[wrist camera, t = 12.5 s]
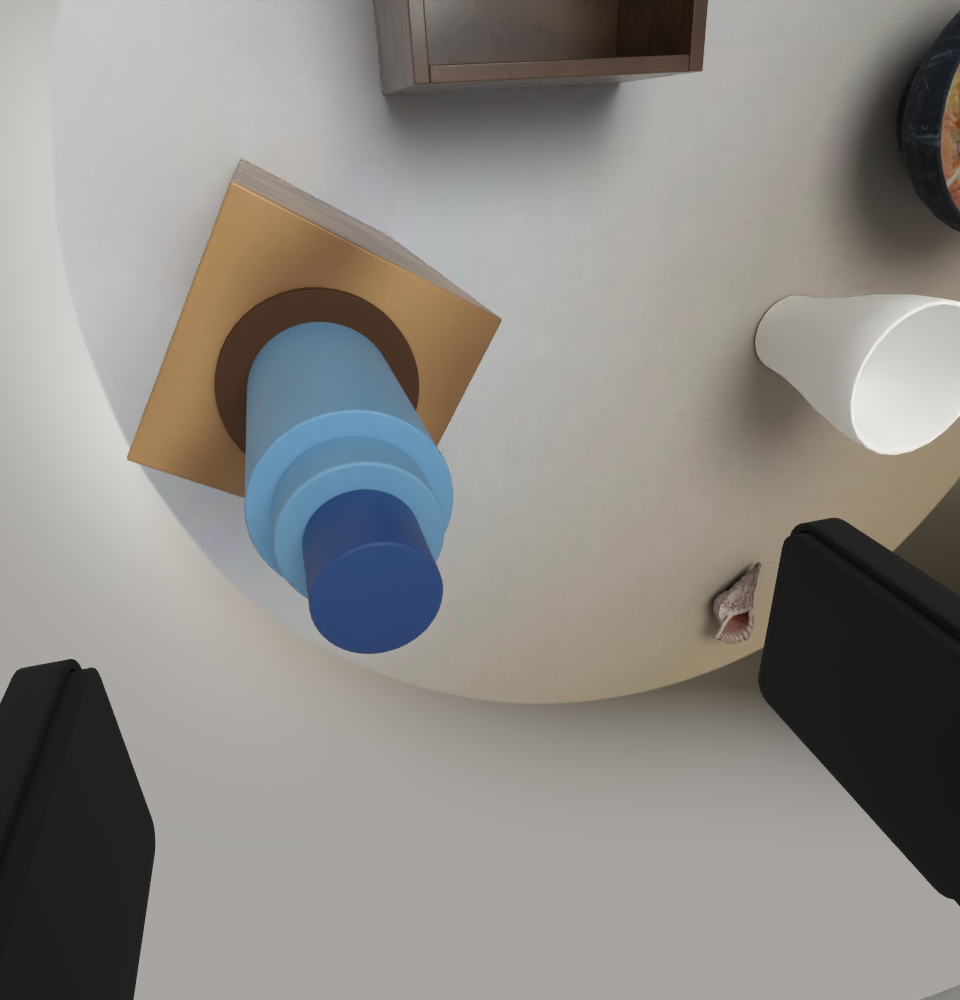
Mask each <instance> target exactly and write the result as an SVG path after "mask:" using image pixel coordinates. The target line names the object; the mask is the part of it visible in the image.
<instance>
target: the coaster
mask: <svg viewBox="0 0 960 1000" xmlns="http://www.w3.org/2000/svg"><path fill="white" fill-rule="evenodd" d="M310 322H329V323H335V324H339V325H343V326H346V327H348V328H351V329H353V330H355V331H357V332H359V333H361V334H362V335H363V336H365V337H366V338H367V339H369V340H370V341H371V342H372V343H373V344H374V345H375V346H376V347H377V348H378V350H379V351H380V352H381V354H382V355H383V357H384V358H385V360H386V362H387V363H388V365H389V367H390V368H391V370H392V372H393V374H394V375H395V377H396V379H397V380H398V382H399V384H400V385H401V387H402V389H403V390H404V392H405V394H406V395H407V397H408V399H409V400H410V402H411V404H412V406H413V407H414V409H415V411H416V409H417V406H418V399H419V375H418V368H417V365H416V361H415V357H414V355H413V352H412V350H411V348H410V345H409V344H408V342H407V340H406V339H405V337H404V335H403V334H402V332H401V331H400V330H399V328H398V327H397V326H396V325H395V323H394V322H393V321H392V320H391V319H390V318H389V317H388V316H387V315H386V314H385V313H384V312H383V311H381V310H380V309H379V308H377V307H376V306H375V305H373V304H372V303H370V302H368V301H366V300H365V299H363V298H361V297H359V296H356V295H354V294H351V293H349V292H345V291H341V290H337V289H331V288H323V287H306V288H299V289H292V290H289V291H285V292H282V293H279V294H276V295H274V296H272V297H269V298H267V299H265V300H264V301H262V302H260V303H259V304H257V305H255V306H254V307H253V308H252V309H250V310H249V311H248V312H247V313H246V314H244V315H243V316H242V317H241V319H240V320H239V321H238V322H237V323H236V324H235V325H234V327H233V328H232V330H231V331H230V333H229V334H228V336H227V337H226V339H225V342H224V344H223V346H222V348H221V351H220V354H219V357H218V360H217V366H216V372H215V398H216V404H217V408H218V411H219V415H220V418H221V420H222V422H223V425H224V427H225V429H226V430H227V432H228V434H229V435H230V437H231V439H232V440H233V441H234V442H235V444H236V445H237V446H238V447H239V449H240V450H241V451H242V452H243V453H244V454H246V411H247V382H248V376H249V372H250V369H251V366H252V364H253V362H254V360H255V358H256V356H257V355H258V353H259V352H260V350H261V349H262V348H263V347H264V346H265V345H266V344H267V343H268V342H269V341H270V340H271V339H272V338H273V337H275V336H276V335H278V334H279V333H281V332H282V331H284V330H286V329H289V328H291V327H293V326H296V325H300V324H304V323H310Z"/></svg>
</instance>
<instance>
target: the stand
mask: <svg viewBox="0 0 960 1000" xmlns="http://www.w3.org/2000/svg"><path fill="white" fill-rule="evenodd" d="M306 287H323V288H331V289H337V290H341V291H345V292H349V293H351V294H354V295H356V296H359V297H361V298H363V299H365V300H366V301H368V302H370V303H372V304H373V305H375V306H376V307H377V308H379V309H380V310H381V311H383V312H384V313H385V314H386V315H387V316H388V317H389V318H390V319H391V320H392V321H393V322H394V323H395V325H396V326H397V327H398V328H399V330H400V331H401V332H402V334H403V335H404V337H405V339H406V340H407V342H408V344H409V345H410V348H411V350H412V352H413V355H414V357H415V361H416V365H417V368H418V375H419V399H418V406H417V409H416V412H417V414H418V416H419V417H420V419H421V421H422V422H423V424H424V426H425V427H426V429H427V431H428V432H429V434H430V436H431V438H432V439H433V441H434V443H435V444H436V446H437V445H438V443H439V441H440V439H441V437H442V435H443V433H444V431H445V430H446V428H447V426H448V424H449V422H450V420H451V418H452V416H453V414H454V412H455V410H456V408H457V406H458V404H459V402H460V400H461V398H462V397H463V395H464V393H465V391H466V389H467V387H468V385H469V383H470V381H471V379H472V377H473V375H474V373H475V371H476V369H477V367H478V365H479V364H480V362H481V360H482V358H483V356H484V354H485V352H486V350H487V348H488V346H489V344H490V342H491V340H492V338H493V336H494V334H495V332H496V330H497V329H498V327H499V325H500V323H501V318H500V317H498V316H497V315H496V314H494V313H493V312H491V311H490V310H489V309H487V308H486V307H485V306H483V305H482V304H481V303H479V302H478V301H477V300H475V299H474V298H472V297H471V296H470V295H468V294H467V293H466V292H464V291H463V290H462V289H460V288H459V287H458V286H456V285H455V284H453V283H452V282H451V281H449V280H448V279H447V278H445V277H444V276H443V275H441V274H440V273H438V272H437V271H436V270H434V269H433V268H432V267H430V266H429V265H428V264H426V263H425V262H424V261H422V260H421V259H419V258H418V257H417V256H415V255H414V254H413V253H411V252H410V251H409V250H407V249H406V248H405V247H403V246H402V245H400V244H399V243H398V242H396V241H395V240H394V239H392V238H391V237H389V236H387V235H385V234H383V233H381V232H379V231H377V230H376V229H374V228H372V227H370V226H368V225H366V224H364V223H362V222H360V221H359V220H357V219H355V218H353V217H351V216H349V215H347V214H345V213H344V212H342V211H340V210H338V209H336V208H334V207H332V206H330V205H328V204H327V203H325V202H323V201H321V200H319V199H317V198H315V197H313V196H311V195H310V194H308V193H306V192H304V191H302V190H300V189H298V188H296V187H295V186H293V185H291V184H289V183H287V182H285V181H283V180H281V179H279V178H278V177H276V176H274V175H272V174H270V173H268V172H266V171H264V170H262V169H261V168H259V167H257V166H255V165H253V164H251V163H249V162H247V161H245V160H244V159H241V160H240V162H239V165H238V167H237V169H236V171H235V173H234V175H233V177H232V179H231V181H230V184H229V186H228V189H227V192H226V195H225V197H224V200H223V203H222V205H221V208H220V211H219V213H218V216H217V219H216V221H215V224H214V227H213V229H212V232H211V235H210V237H209V240H208V243H207V245H206V248H205V251H204V253H203V256H202V259H201V261H200V264H199V267H198V269H197V272H196V275H195V277H194V280H193V283H192V285H191V288H190V291H189V293H188V296H187V299H186V301H185V304H184V307H183V309H182V312H181V315H180V317H179V320H178V323H177V325H176V328H175V331H174V333H173V336H172V339H171V341H170V344H169V347H168V349H167V352H166V355H165V357H164V360H163V363H162V365H161V368H160V371H159V373H158V376H157V379H156V381H155V384H154V387H153V389H152V392H151V395H150V397H149V400H148V403H147V405H146V408H145V411H144V413H143V416H142V419H141V421H140V424H139V427H138V429H137V432H136V435H135V437H134V440H133V443H132V445H131V448H130V451H129V453H128V456H127V459H128V460H129V461H132V462H135V463H138V464H142V465H145V466H148V467H151V468H154V469H157V470H160V471H163V472H166V473H169V474H172V475H175V476H179V477H182V478H185V479H188V480H191V481H194V482H197V483H200V484H203V485H206V486H209V487H213V488H216V489H219V490H222V491H225V492H228V493H231V494H234V495H237V496H240V497H243V498H245V459H246V454H244V453H243V452H242V451H241V450H240V449H239V447H238V446H237V445H236V444H235V442H234V441H233V440H232V439H231V437H230V435H229V434H228V432H227V430H226V429H225V427H224V425H223V422H222V420H221V418H220V415H219V411H218V408H217V404H216V398H215V372H216V366H217V360H218V357H219V354H220V351H221V348H222V346H223V344H224V342H225V339H226V337H227V336H228V334H229V333H230V331H231V330H232V328H233V327H234V325H235V324H236V323H237V322H238V321H239V320H240V319H241V317H242V316H243V315H244V314H246V313H247V312H248V311H249V310H250V309H252V308H253V307H254V306H255V305H257V304H259V303H260V302H262V301H264V300H265V299H267V298H269V297H272V296H274V295H276V294H279V293H282V292H285V291H289V290H292V289H299V288H306Z"/></svg>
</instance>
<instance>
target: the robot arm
mask: <svg viewBox="0 0 960 1000" xmlns="http://www.w3.org/2000/svg"><path fill="white" fill-rule="evenodd" d="M758 682H759V687H760V690H761V693H762V695H763V697H764V699H765V700H766V702H767V703H768V704H769V705H770V706H771V707H772V709H773V710H774V711H776V713H777V714H778V715H779V716H780V717H781V718H782V720H783V721H784V722H785V723H786V724H787V725H788V726H789V727H790V729H792V731H793V732H794V733H795V734H796V735H797V736H798V737H799V739H800V740H801V741H802V742H803V743H804V744H805V745H806V746H807V747H808V748H809V750H810V751H811V752H812V753H813V754H814V755H815V756H816V757H817V759H818V760H819V761H820V762H821V763H822V764H823V765H824V766H825V767H826V768H827V770H828V771H829V772H830V773H831V774H832V775H833V776H834V777H835V778H836V780H837V781H838V782H839V783H840V784H841V785H842V786H843V787H844V788H845V790H846V791H847V792H848V793H849V794H850V795H851V796H852V797H853V798H854V800H855V801H856V802H857V803H858V804H859V805H860V806H861V807H862V809H864V811H865V812H866V813H867V814H868V815H869V816H870V817H871V819H872V820H873V821H874V822H875V823H876V824H877V825H878V826H879V827H880V829H882V831H883V832H884V833H885V834H886V835H887V836H888V837H889V839H890V840H891V841H892V842H893V843H894V844H895V845H896V846H897V847H898V848H899V850H900V851H901V852H902V853H903V854H904V855H905V856H906V857H907V859H908V860H909V861H910V862H911V863H912V864H913V865H914V866H915V867H916V868H917V870H918V871H919V872H920V873H921V874H922V875H923V876H924V877H925V879H926V880H927V881H928V882H929V883H930V884H931V885H932V886H933V887H934V888H935V889H936V890H937V891H938V892H939V893H940V894H942V895H943V896H945V897H947V898H950V899H954V900H955V901H956V902H957V903H958V905H959V906H960V596H959V595H957V594H956V593H954V592H953V591H951V590H950V589H948V588H946V587H945V586H943V585H942V584H940V583H939V582H937V581H936V580H934V579H932V578H931V577H930V576H928V575H927V574H925V573H923V572H922V571H920V570H919V569H917V568H916V567H914V566H913V565H911V564H910V563H908V562H907V561H905V560H904V559H902V558H900V557H899V556H898V555H896V554H894V553H893V552H891V551H890V550H888V549H887V548H885V547H884V546H882V545H881V544H879V543H878V542H876V541H875V540H873V539H872V538H870V537H869V536H867V535H865V534H864V533H862V532H861V531H859V530H858V529H856V528H855V527H853V526H852V525H850V524H849V523H847V522H846V521H844V520H841V519H839V518H829V519H823V520H818V521H813V522H807V523H802V524H799V525H797V526H796V527H795V528H794V529H793V530H792V532H791V535H790V536H789V537H787V538H786V540H785V541H784V544H783V547H782V552H781V558H780V563H779V568H778V574H777V579H776V585H775V590H774V595H773V601H772V606H771V611H770V617H769V622H768V628H767V633H766V638H765V644H764V649H763V655H762V660H761V665H760V671H759V678H758ZM154 855H155V832H154V825H153V821H152V818H151V815H150V812H149V809H148V807H147V804H146V801H145V798H144V796H143V793H142V790H141V787H140V785H139V782H138V779H137V776H136V774H135V771H134V768H133V765H132V763H131V760H130V757H129V754H128V751H127V749H126V746H125V743H124V740H123V738H122V735H121V732H120V729H119V727H118V724H117V721H116V718H115V716H114V713H113V710H112V707H111V705H110V702H109V699H108V696H107V694H106V691H105V688H104V685H103V683H102V680H101V677H100V675H99V673H98V671H97V670H96V669H95V668H88V669H81V667H80V665H79V663H78V662H77V661H76V660H73V659H69V660H63V661H58V662H52V663H47V664H42V665H36V666H31V667H26V668H21V669H19V670H17V671H16V672H15V674H14V675H13V677H12V679H11V681H10V683H9V686H8V688H7V690H6V692H5V695H4V697H3V699H2V701H1V703H0V1000H133V999H134V992H135V985H136V978H137V971H138V964H139V957H140V950H141V943H142V937H143V930H144V923H145V916H146V909H147V903H148V896H149V889H150V882H151V875H152V868H153V861H154ZM921 1000H960V985H959V986H956V987H954V988H951V989H948V990H945V991H943V992H940V993H937V994H935V995H932V996H929V997H926V998H923V999H921Z"/></svg>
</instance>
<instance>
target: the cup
mask: <svg viewBox="0 0 960 1000" xmlns="http://www.w3.org/2000/svg"><path fill="white" fill-rule="evenodd" d="M755 346H756V353H757V355H758V357H759V359H760V360H761V361H762V363H763V364H764V365H766V366H767V367H769V368H770V369H772V370H773V371H775V372H776V373H778V374H780V375H781V376H783V377H784V378H785V379H786V380H787V381H788V382H789V383H790V384H791V385H792V386H794V387H795V388H796V389H797V390H798V391H799V392H800V393H801V394H802V395H803V396H804V398H805V399H806V400H807V401H808V402H809V403H810V404H811V405H812V406H813V407H814V409H815V410H816V411H817V412H819V413H820V414H821V415H822V416H823V417H824V418H825V419H827V420H828V421H829V422H830V423H831V424H832V425H834V426H835V427H836V428H837V429H838V430H839V431H840V432H842V433H843V434H845V435H846V436H848V437H849V438H851V439H852V440H854V441H856V442H857V443H859V444H860V445H862V446H863V447H865V448H867V449H869V450H871V451H873V452H876V453H878V454H887V455H896V454H901V453H906V452H911V451H913V450H915V449H917V448H920V447H922V446H924V445H926V444H928V443H930V442H931V441H932V440H934V439H935V438H936V437H938V436H939V435H940V434H942V433H943V432H944V431H946V429H947V428H948V427H949V426H950V425H951V424H952V423H953V422H954V421H955V420H956V419H957V418H958V417H959V416H960V302H959V301H953V300H948V299H941V298H934V297H927V296H920V295H866V296H857V297H847V298H815V297H807V296H800V295H794V296H788V297H786V298H784V299H782V300H780V301H778V302H777V303H776V304H774V305H773V306H772V307H771V308H770V309H769V310H768V311H767V312H766V314H765V315H764V317H763V318H762V320H761V322H760V324H759V326H758V329H757V332H756V339H755Z"/></svg>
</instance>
